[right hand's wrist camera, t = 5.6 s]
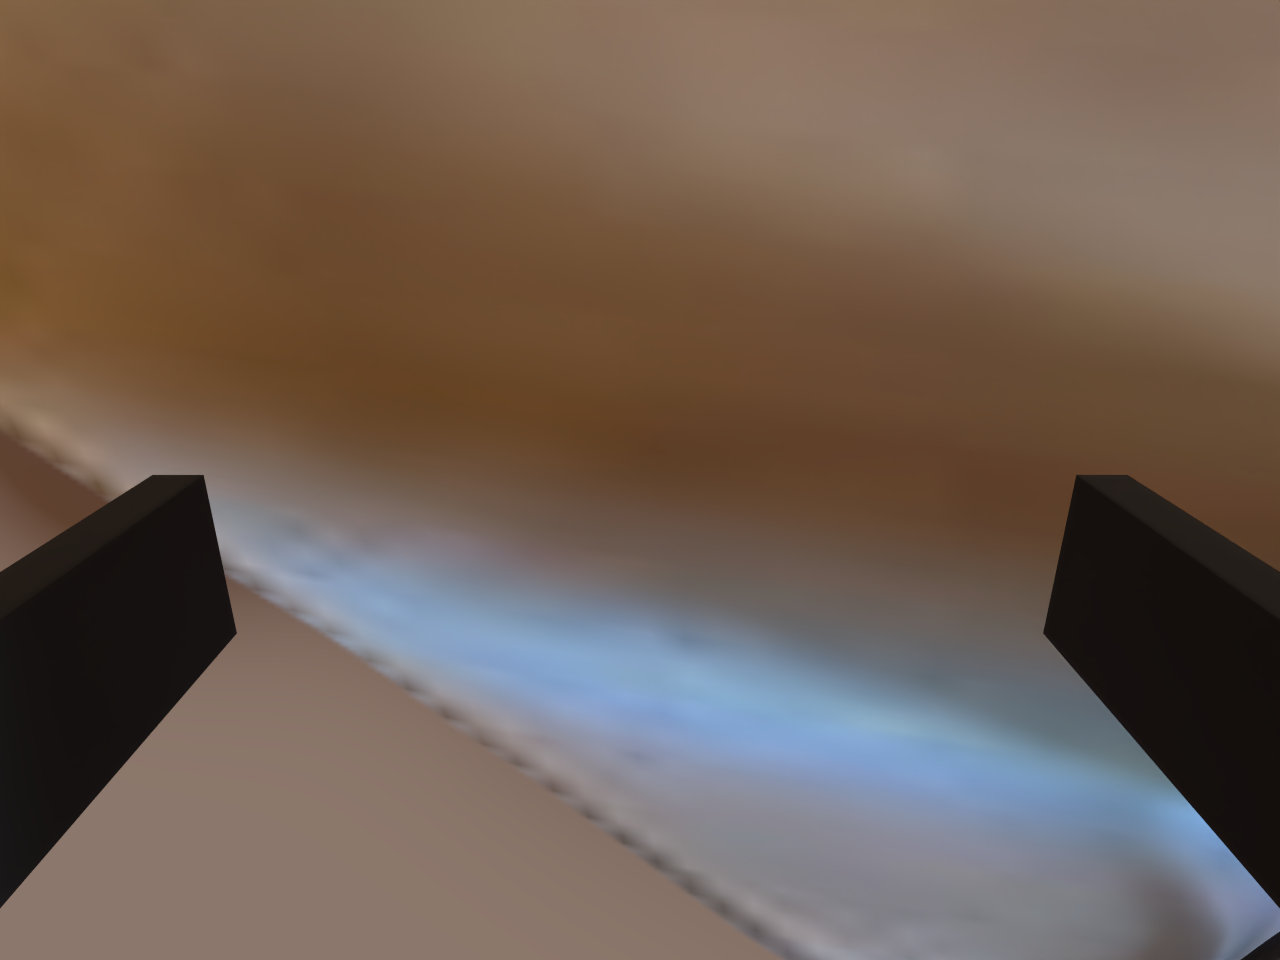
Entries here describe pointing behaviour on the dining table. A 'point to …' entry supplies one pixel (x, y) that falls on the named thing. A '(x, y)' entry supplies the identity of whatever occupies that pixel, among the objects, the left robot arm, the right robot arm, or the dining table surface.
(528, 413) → the dining table surface
